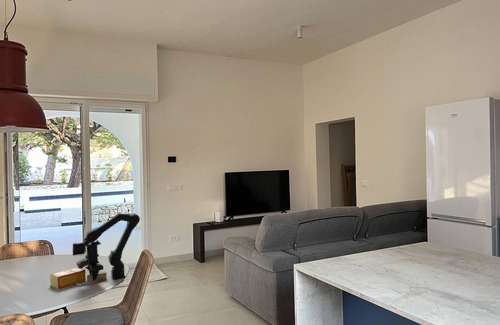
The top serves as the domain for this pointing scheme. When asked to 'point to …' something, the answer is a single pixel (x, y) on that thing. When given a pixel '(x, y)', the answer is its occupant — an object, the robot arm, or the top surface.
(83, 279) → the baking soda box
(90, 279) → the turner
